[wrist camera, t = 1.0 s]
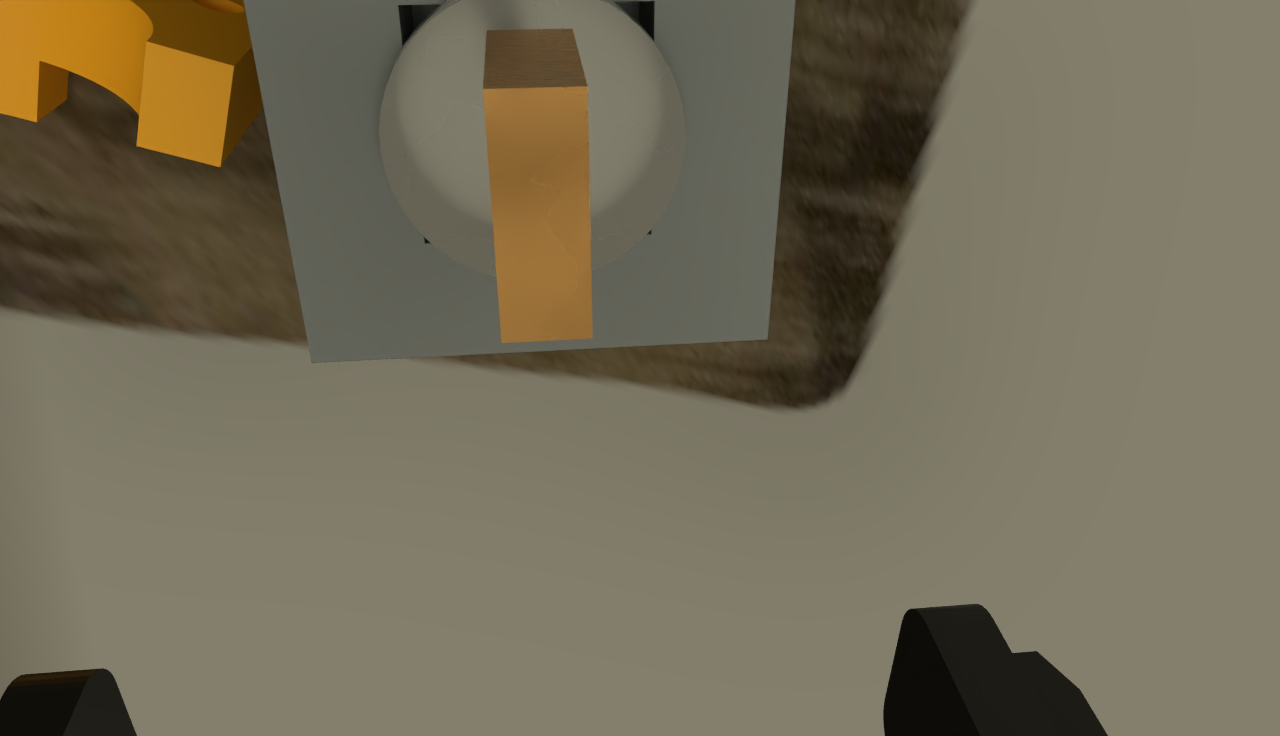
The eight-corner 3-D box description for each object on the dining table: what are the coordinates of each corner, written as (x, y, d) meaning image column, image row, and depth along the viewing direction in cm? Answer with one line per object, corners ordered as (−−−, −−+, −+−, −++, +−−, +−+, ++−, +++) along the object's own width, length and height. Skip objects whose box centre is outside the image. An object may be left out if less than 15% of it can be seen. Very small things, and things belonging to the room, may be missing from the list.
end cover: (380, -47, 24) (325, 37, 16) (663, -51, 25) (732, 30, 17) (412, 220, 27) (378, 388, 20) (658, 210, 28) (714, 370, 21)
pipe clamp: (-183, 31, 28) (-351, 96, 23) (-193, -134, 26) (-379, -107, 21) (263, 148, 31) (212, 230, 26) (284, 9, 29) (234, 66, 24)
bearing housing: (287, -181, 27) (212, -163, 20) (734, -180, 28) (809, -162, 21) (351, 238, 33) (311, 362, 26) (714, 224, 34) (767, 339, 27)
